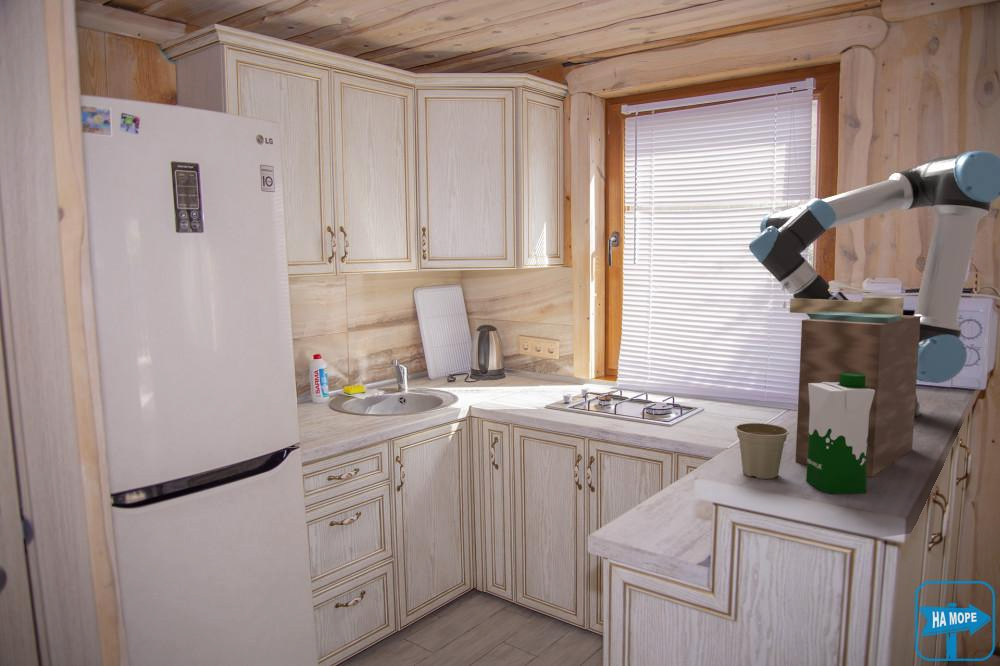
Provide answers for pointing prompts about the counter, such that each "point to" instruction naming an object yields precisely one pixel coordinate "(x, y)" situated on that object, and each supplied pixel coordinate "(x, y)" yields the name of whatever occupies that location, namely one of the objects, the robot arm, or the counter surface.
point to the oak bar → (850, 305)
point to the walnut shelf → (881, 357)
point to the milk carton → (839, 434)
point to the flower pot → (761, 448)
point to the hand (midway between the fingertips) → (872, 355)
